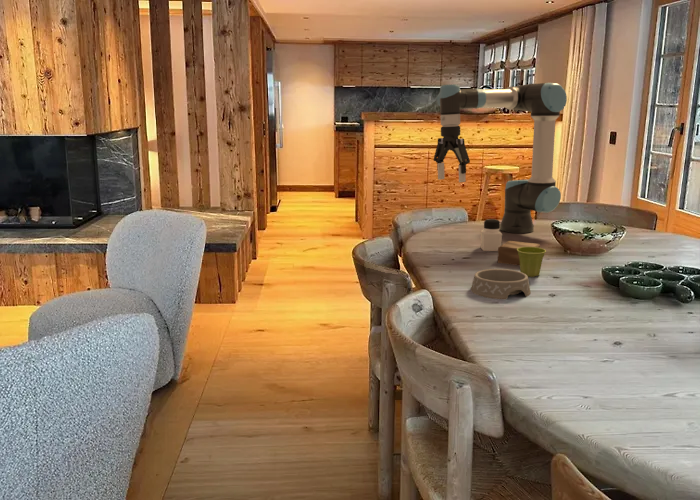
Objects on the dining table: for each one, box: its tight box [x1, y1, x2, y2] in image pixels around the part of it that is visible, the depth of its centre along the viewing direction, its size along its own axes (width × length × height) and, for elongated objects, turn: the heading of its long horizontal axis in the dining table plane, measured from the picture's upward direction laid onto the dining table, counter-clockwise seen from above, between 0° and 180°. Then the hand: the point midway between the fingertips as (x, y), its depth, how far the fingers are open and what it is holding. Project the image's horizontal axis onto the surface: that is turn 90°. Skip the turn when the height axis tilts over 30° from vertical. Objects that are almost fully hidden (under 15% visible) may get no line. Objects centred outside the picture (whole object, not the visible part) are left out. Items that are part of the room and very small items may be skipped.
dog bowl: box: [470, 268, 532, 300], centre depth 193 cm, size 17×18×5 cm
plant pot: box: [517, 247, 547, 278], centre depth 210 cm, size 9×9×9 cm
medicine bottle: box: [479, 218, 503, 252], centre depth 247 cm, size 7×7×12 cm
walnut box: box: [497, 240, 541, 266], centre depth 228 cm, size 12×12×6 cm
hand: (451, 180), depth 245 cm, fingers open, 13 cm apart
